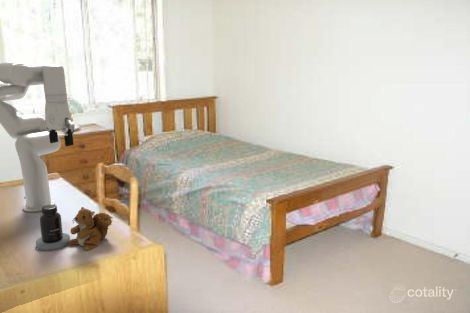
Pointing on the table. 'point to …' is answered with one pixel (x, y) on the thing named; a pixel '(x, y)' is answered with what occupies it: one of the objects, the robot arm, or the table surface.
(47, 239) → the supplement bottle
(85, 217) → the stuffed squirrel
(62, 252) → the table surface
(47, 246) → the slate plate
